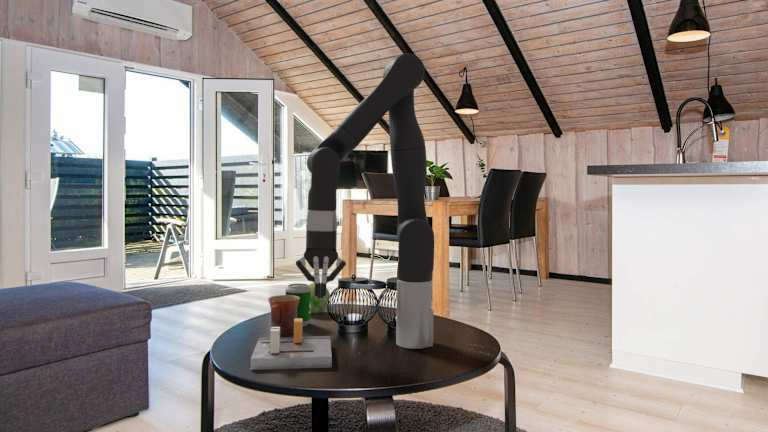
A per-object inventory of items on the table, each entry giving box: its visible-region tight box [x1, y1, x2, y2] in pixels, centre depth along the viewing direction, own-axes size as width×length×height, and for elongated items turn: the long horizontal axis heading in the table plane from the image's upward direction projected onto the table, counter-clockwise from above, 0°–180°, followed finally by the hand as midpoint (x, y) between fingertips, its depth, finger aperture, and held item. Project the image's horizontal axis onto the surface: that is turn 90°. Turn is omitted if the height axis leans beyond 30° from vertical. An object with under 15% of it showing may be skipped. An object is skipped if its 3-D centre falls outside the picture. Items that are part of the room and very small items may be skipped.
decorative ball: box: [307, 282, 331, 314], centre depth 171 cm, size 10×10×10 cm
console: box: [250, 335, 333, 371], centre depth 125 cm, size 18×17×3 cm
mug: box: [267, 294, 300, 337], centre depth 143 cm, size 12×9×10 cm
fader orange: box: [293, 318, 304, 343], centre depth 129 cm, size 2×4×5 cm, turn 7°
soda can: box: [284, 283, 312, 327], centre depth 155 cm, size 8×8×12 cm
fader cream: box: [269, 327, 280, 353], centre depth 120 cm, size 2×4×5 cm, turn 7°
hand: (320, 297), depth 129 cm, fingers closed
